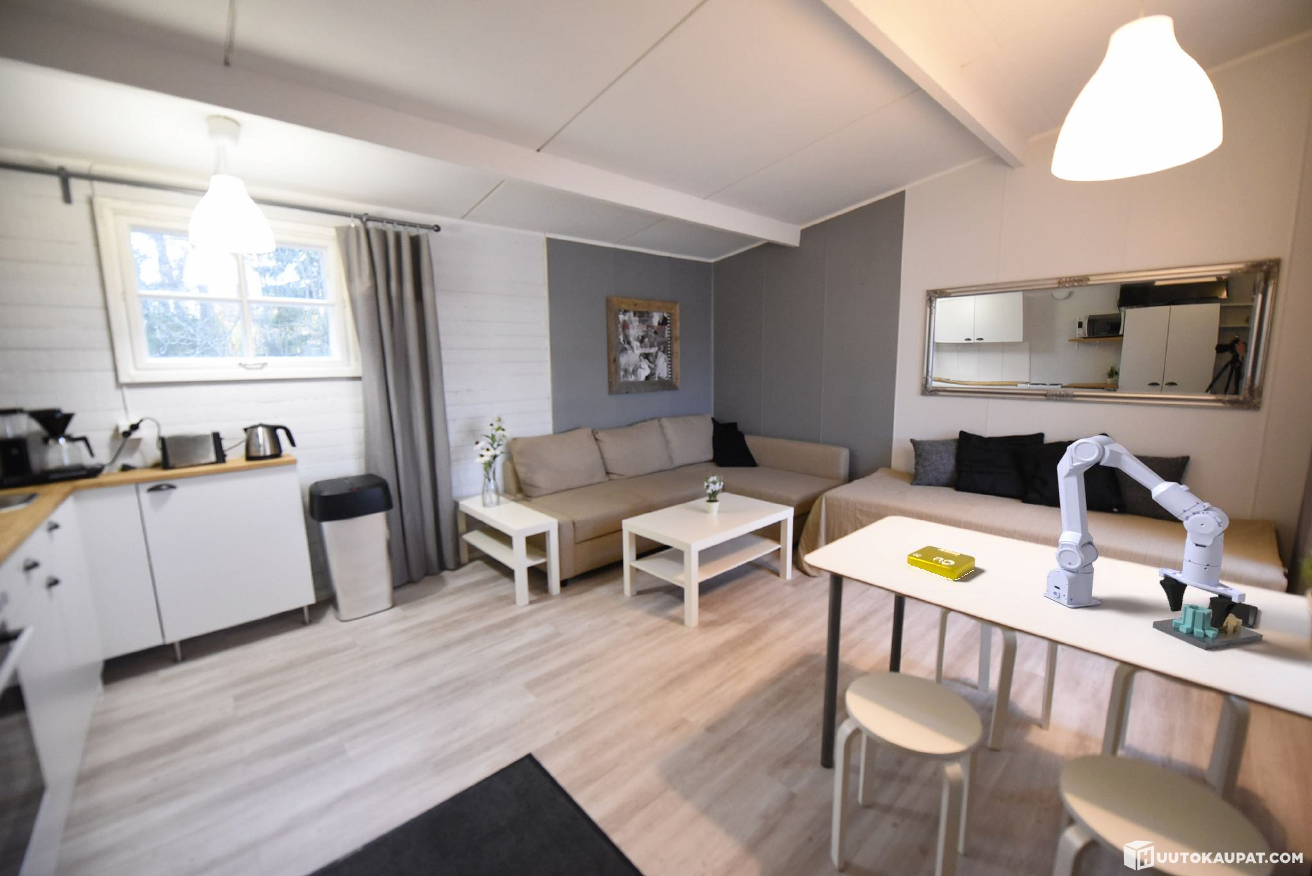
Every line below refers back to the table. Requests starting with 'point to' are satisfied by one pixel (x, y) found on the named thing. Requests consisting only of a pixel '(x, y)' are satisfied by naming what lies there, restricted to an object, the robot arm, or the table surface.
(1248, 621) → the phone
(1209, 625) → the gear
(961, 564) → the element tile
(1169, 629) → the carrier
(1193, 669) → the table surface
